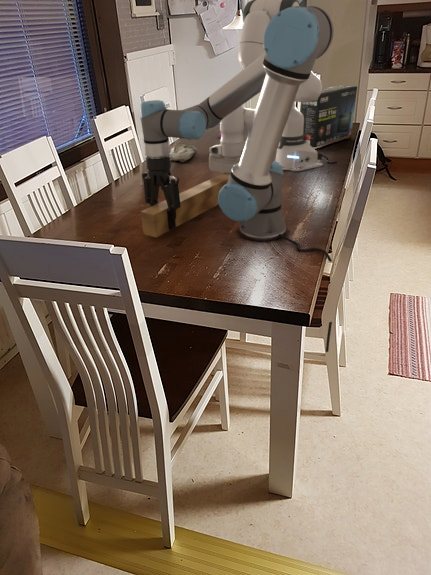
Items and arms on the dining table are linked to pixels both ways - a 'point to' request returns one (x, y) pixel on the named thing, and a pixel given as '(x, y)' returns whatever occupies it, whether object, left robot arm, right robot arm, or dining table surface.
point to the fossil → (182, 152)
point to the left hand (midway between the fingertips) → (165, 226)
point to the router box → (329, 114)
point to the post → (183, 206)
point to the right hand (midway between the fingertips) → (233, 185)
